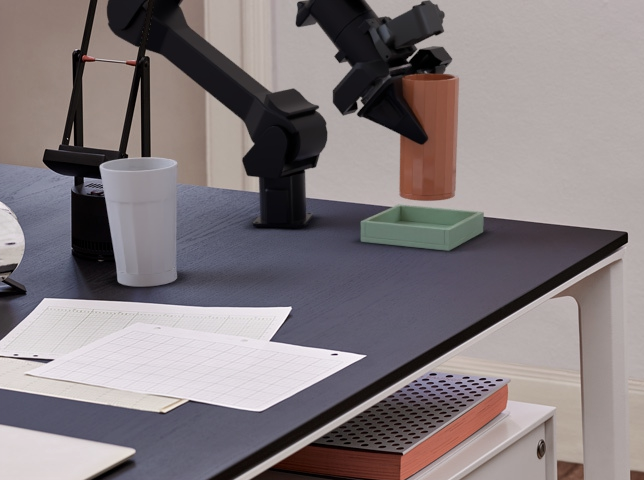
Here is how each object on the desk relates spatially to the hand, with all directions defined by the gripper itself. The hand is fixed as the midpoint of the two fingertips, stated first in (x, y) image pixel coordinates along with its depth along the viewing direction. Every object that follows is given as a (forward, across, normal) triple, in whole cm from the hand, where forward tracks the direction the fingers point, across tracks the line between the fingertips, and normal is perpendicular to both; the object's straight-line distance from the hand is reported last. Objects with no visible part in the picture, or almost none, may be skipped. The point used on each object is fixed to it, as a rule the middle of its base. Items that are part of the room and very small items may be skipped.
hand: (439, 137), depth 152 cm
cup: (-5, -29, +22) cm, 37 cm away
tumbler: (+4, 0, +6) cm, 7 cm away
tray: (+7, +1, +10) cm, 12 cm away
